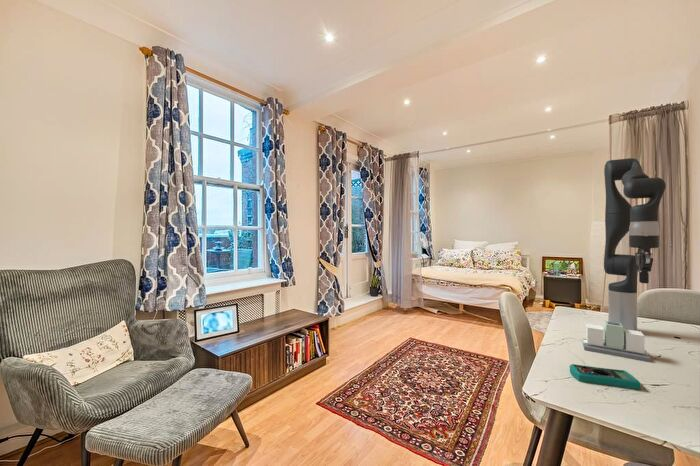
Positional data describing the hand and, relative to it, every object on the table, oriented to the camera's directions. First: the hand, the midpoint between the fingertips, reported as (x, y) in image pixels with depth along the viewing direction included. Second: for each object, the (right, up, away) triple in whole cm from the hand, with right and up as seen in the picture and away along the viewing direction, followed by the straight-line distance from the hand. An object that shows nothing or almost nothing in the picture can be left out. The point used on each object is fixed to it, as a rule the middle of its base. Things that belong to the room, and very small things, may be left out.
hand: (643, 282), depth 103 cm
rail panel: (-9, -25, +2) cm, 27 cm away
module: (-9, -23, +2) cm, 25 cm away
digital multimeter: (-31, -26, -19) cm, 44 cm away
